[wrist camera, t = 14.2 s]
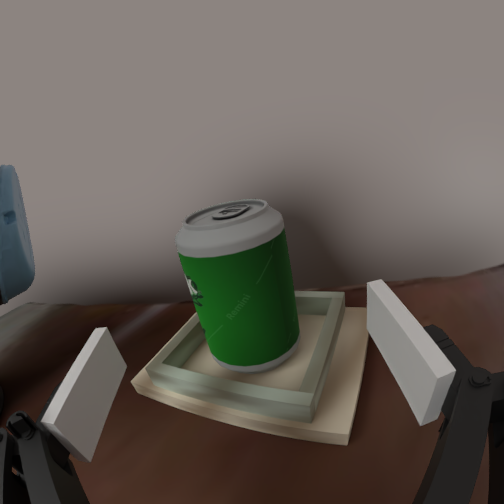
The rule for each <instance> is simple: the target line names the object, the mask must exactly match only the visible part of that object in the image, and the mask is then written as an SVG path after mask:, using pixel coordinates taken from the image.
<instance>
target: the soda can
mask: <svg viewBox="0 0 504 504" xmlns="http://www.w3.org/2000/svg"><path fill="white" fill-rule="evenodd" d="M182 223H183V226H182V228H181V229H180V231H179V232H178V234H177V235H176V237H175V243H176V247H177V251H178V254H179V257H180V261H181V264H182V267H183V271H184V274H185V277H186V280H187V283H188V286H189V290H190V293H191V296H192V299H193V302H194V305H195V308H196V311H197V314H198V317H199V320H200V323H201V326H202V329H203V332H204V334H205V337H206V340H207V343H208V346H209V349H210V351H211V354H212V357H213V359H214V360H215V361H216V362H217V363H218V364H219V365H220V366H222V367H225V368H227V369H229V370H232V371H237V372H239V373H245V374H257V373H264V372H266V371H269V370H272V369H274V368H276V367H278V366H279V365H281V364H282V363H283V362H284V361H285V360H286V359H288V358H289V357H290V356H291V355H292V353H293V352H294V351H295V350H296V349H297V347H298V344H299V341H300V337H301V336H300V329H299V321H298V314H297V307H296V300H295V293H294V286H293V280H292V273H291V267H290V260H289V254H288V247H287V242H286V235H285V229H284V223H283V218H282V215H281V213H280V212H278V211H276V210H275V209H273V208H271V207H269V206H268V204H267V202H266V201H264V200H259V199H245V200H237V201H230V202H226V203H221V204H217V205H213V206H210V207H207V208H204V209H201V210H199V211H197V212H194V213H192V214H190V215H189V216H187V217H186V218H185V219H184V220H183V221H182Z"/></svg>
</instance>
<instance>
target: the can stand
mask: <svg viewBox="0 0 504 504" xmlns="http://www.w3.org/2000/svg"><path fill="white" fill-rule="evenodd" d="M294 293H295V300H296V307H297V314H298V321H299V329H300V336H301V337H300V341H299V344H298V347H297V349H296V350H295V351H294V352H293V353H292V355H291V356H290V357H289V358H288V359H286V360H285V361H284V362H283V363H282V364H281V365H279V366H278V367H276V368H274V369H272V370H269V371H266V372H264V373H257V374H245V373H239V372H237V371H232V370H229V369H227V368H225V367H222V366H220V365H219V364H218V363H217V362H216V361H215V360H214V359H213V357H212V354H211V351H210V349H209V346H208V343H207V340H206V337H205V334H204V332H203V329H202V326H201V323H200V320H199V317H198V314H197V312H196V313H195V314H194V315H193V316H192V317H191V318H190V319H189V320H188V322H187V323H186V324H185V325H184V326H183V327H182V328H181V329H180V330H179V331H178V332H177V333H176V334H175V335H174V336H173V337H172V338H171V339H170V341H169V342H168V343H167V344H166V345H165V346H164V347H163V348H162V349H161V350H160V351H159V352H158V353H157V354H156V355H155V356H154V357H153V358H152V360H151V361H150V362H149V363H148V364H147V365H146V366H145V367H144V368H143V369H142V370H141V371H140V372H139V373H138V374H137V375H136V376H135V377H134V379H133V380H132V381H131V383H132V385H133V386H134V388H135V389H136V391H137V393H139V394H142V395H144V396H147V397H149V398H152V399H154V400H157V401H159V402H162V403H165V404H167V405H170V406H173V407H176V408H179V409H182V410H185V411H188V412H191V413H194V414H197V415H200V416H203V417H206V418H210V419H213V420H217V421H220V422H224V423H227V424H231V425H235V426H239V427H243V428H247V429H251V430H255V431H260V432H264V433H269V434H274V435H279V436H284V437H289V438H295V439H301V440H307V441H314V442H321V443H328V444H337V445H348V441H349V437H350V433H351V429H352V425H353V421H354V416H355V412H356V407H357V403H358V398H359V393H360V388H361V382H362V377H363V371H364V366H365V360H366V353H367V347H368V340H369V332H368V330H367V308H364V307H345V292H317V291H294Z"/></svg>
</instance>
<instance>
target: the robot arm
mask: <svg viewBox="0 0 504 504" xmlns="http://www.w3.org/2000/svg"><path fill="white" fill-rule="evenodd" d="M34 276H35V265H34V257H33V251H32V245H31V240H30V235H29V229H28V224H27V219H26V213H25V208H24V203H23V198H22V193H21V189H20V184H19V180H18V176H17V174H16V172H15V168H14V167H13V166H12V165H7V166H6V165H1V167H0V305H2V304H6V303H8V300H10V299H12V298H13V297H15V296H17V295H19V294H20V293H22V292H24V291H26V290H27V289H28V288H29V287H30V286H31V284H32V282H33V280H34ZM367 330H368V332H369V333H370V335H371V337H372V339H373V340H374V342H375V344H376V345H377V347H378V349H379V351H380V352H381V354H382V356H383V358H384V359H385V361H386V363H387V365H388V367H389V368H390V370H391V372H392V374H393V376H394V377H395V379H396V381H397V383H398V385H399V386H400V388H401V390H402V392H403V394H404V396H405V398H406V399H407V401H408V403H409V405H410V407H411V409H412V411H413V413H414V415H415V417H416V419H417V421H418V422H419V424H420V426H422V425H425V424H427V423H429V422H432V421H434V420H436V419H438V416H439V414H440V412H441V410H442V412H443V414H444V415H445V419H444V421H443V423H442V425H441V427H440V430H439V432H440V435H439V438H438V441H437V444H436V447H435V450H434V452H433V455H432V458H431V461H430V463H429V466H428V468H427V471H426V473H425V476H424V478H423V481H422V483H421V485H420V488H419V490H418V492H417V494H416V497H415V499H414V501H413V503H412V504H469V501H470V498H471V495H472V492H473V489H474V486H475V482H476V479H477V475H478V472H479V468H480V464H481V460H482V456H483V452H484V447H485V442H486V437H487V432H488V437H489V495H488V504H504V372H499V373H494V374H491V373H490V372H489V371H487V370H486V369H483V368H480V367H473V366H472V365H471V363H470V362H469V361H468V360H467V358H466V357H465V356H464V355H463V354H462V352H461V351H460V350H459V349H458V348H457V346H456V345H454V343H453V342H452V340H451V339H449V337H448V336H447V335H446V333H445V332H444V331H443V330H442V329H440V328H438V327H436V326H435V325H433V324H432V325H429V326H426V327H422V326H421V325H420V324H419V322H418V321H417V320H416V319H415V318H414V316H413V315H412V314H411V313H410V312H409V310H408V309H407V308H406V307H405V306H404V305H403V303H402V302H401V301H400V300H399V299H398V298H397V296H396V295H395V294H394V293H393V292H392V291H391V289H390V288H389V287H388V286H387V285H386V284H385V283H384V282H383V281H382V279H380V280H376V281H372V282H367ZM126 368H127V365H126V364H125V362H124V360H123V358H122V356H121V354H120V352H119V350H118V349H117V347H116V345H115V343H114V341H113V339H112V337H111V335H110V333H109V331H108V329H107V327H104V328H95V330H94V331H93V333H92V334H91V336H90V338H89V339H88V341H87V342H86V344H85V345H84V347H83V349H82V350H81V352H80V354H79V355H78V357H77V358H76V360H75V362H74V363H73V365H72V367H71V368H70V370H69V372H68V373H67V375H66V377H65V379H64V380H63V381H61V382H60V383H59V384H58V385H57V386H56V387H55V389H54V390H53V392H52V394H51V397H49V399H48V401H47V403H46V404H45V406H44V408H43V410H42V412H41V414H40V415H39V417H38V419H37V421H36V423H34V422H33V420H32V419H31V418H30V417H29V416H28V415H27V413H26V412H24V411H17V412H15V413H13V414H12V415H11V416H10V417H9V418H8V420H7V423H6V427H7V428H8V429H9V431H10V432H11V433H12V434H13V435H10V434H9V433H8V432H7V431H6V430H5V429H4V428H0V504H90V503H89V501H88V499H87V497H86V494H85V492H84V490H83V488H82V486H81V483H80V481H79V479H78V476H77V474H76V471H75V469H74V466H73V464H72V462H71V460H70V459H69V458H68V457H69V454H70V453H71V454H72V455H73V456H74V457H75V458H76V459H77V460H79V461H84V462H90V463H91V460H92V457H93V454H94V451H95V449H96V446H97V443H98V440H99V437H100V435H101V432H102V429H103V426H104V424H105V421H106V418H107V416H108V413H109V410H110V408H111V405H112V403H113V400H114V398H115V395H116V393H117V390H118V388H119V385H120V383H121V380H122V378H123V375H124V373H125V370H126ZM3 400H4V395H3V390H2V388H1V386H0V414H1V411H2V407H3ZM12 467H13V468H14V469H15V470H16V471H17V475H15V474H14V473H13V472H12Z"/></svg>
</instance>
